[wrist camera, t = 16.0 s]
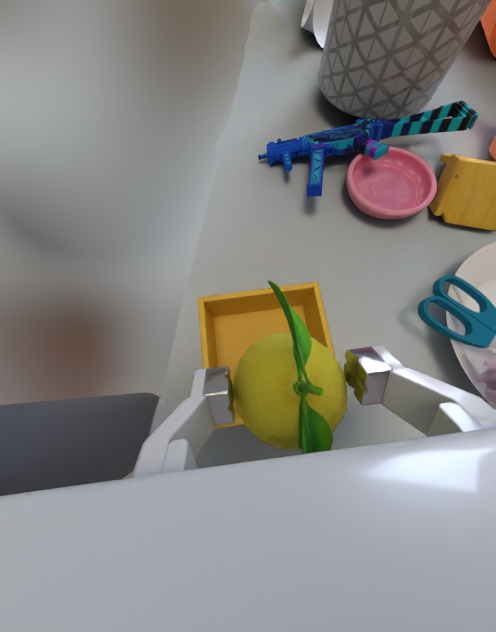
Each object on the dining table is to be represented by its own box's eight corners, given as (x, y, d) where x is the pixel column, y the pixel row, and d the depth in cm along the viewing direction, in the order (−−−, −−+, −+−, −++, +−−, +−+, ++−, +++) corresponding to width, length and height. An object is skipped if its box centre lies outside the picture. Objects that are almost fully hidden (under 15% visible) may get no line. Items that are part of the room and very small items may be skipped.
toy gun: (263, 210, 33) (258, 155, 40) (504, 166, 28) (449, 113, 36) (260, 191, 31) (256, 137, 38) (523, 140, 26) (460, 89, 33)
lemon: (263, 320, 17) (273, 236, 7) (338, 361, 16) (467, 327, 6) (214, 405, 15) (143, 445, 6) (294, 456, 14) (372, 608, 5)
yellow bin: (218, 419, 28) (207, 429, 21) (209, 314, 31) (197, 297, 25) (326, 404, 28) (348, 410, 22) (305, 302, 32) (317, 281, 25)
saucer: (354, 154, 38) (363, 134, 35) (431, 177, 36) (446, 159, 33) (329, 211, 35) (336, 195, 32) (411, 240, 33) (426, 226, 30)
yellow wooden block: (509, 233, 32) (466, 226, 41) (563, 151, 28) (501, 162, 36) (432, 220, 33) (404, 216, 41) (472, 138, 29) (432, 152, 37)
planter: (415, 66, 44) (521, -143, 26) (428, 141, 39) (571, -57, 21) (313, 64, 45) (351, -139, 27) (313, 138, 39) (359, -56, 22)
